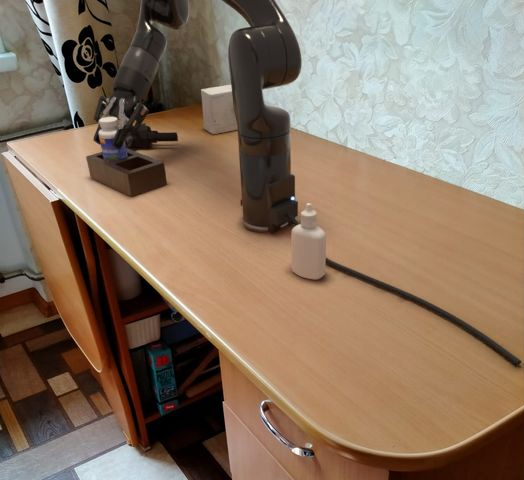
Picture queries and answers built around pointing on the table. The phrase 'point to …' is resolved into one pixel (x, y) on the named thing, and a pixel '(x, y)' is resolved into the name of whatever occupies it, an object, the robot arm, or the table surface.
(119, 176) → the rack
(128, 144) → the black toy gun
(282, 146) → the robot arm
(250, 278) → the table surface
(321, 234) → the eye dropper bottle
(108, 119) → the pill bottle
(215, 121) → the cosmetics box
